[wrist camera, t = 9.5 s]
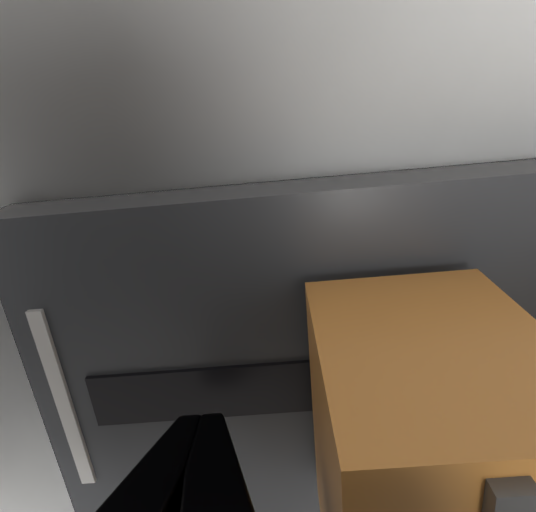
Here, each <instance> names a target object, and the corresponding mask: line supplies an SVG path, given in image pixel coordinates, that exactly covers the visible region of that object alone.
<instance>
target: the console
mask: <svg viewBox="0 0 536 512" xmlns="http://www.w3.org/2000/svg"><path fill="white" fill-rule="evenodd" d="M468 269H478V270H479V271H480V272H482V273H483V274H484V275H485V276H486V277H487V278H489V279H490V280H491V281H492V282H493V283H494V284H495V285H497V286H498V287H499V288H500V289H501V290H502V291H504V292H505V293H506V294H507V295H508V296H509V297H510V298H512V299H513V300H514V301H515V302H516V303H517V304H518V305H520V306H521V307H522V308H523V309H524V310H525V311H527V312H528V313H529V314H530V315H531V316H532V317H533V318H535V319H536V159H525V160H514V161H502V162H491V163H479V164H468V165H456V166H445V167H433V168H422V169H410V170H399V171H387V172H375V173H364V174H352V175H341V176H329V177H318V178H306V179H295V180H283V181H272V182H260V183H249V184H237V185H226V186H214V187H203V188H191V189H180V190H168V191H157V192H145V193H133V194H122V195H110V196H99V197H87V198H76V199H64V200H53V201H41V202H30V203H18V204H10V205H8V206H6V207H3V208H1V209H0V300H1V303H2V306H3V308H4V311H5V314H6V317H7V320H8V323H9V325H10V328H11V331H12V334H13V337H14V340H15V343H16V345H17V348H18V351H19V354H20V357H21V360H22V362H23V365H24V368H25V371H26V374H27V377H28V380H29V382H30V385H31V388H32V391H33V394H34V397H35V399H36V402H37V405H38V408H39V411H40V414H41V417H42V419H43V422H44V425H45V428H46V431H47V434H48V436H49V439H50V442H51V445H52V448H53V451H54V454H55V456H56V459H57V462H58V465H59V468H60V471H61V473H62V476H63V479H64V482H65V485H66V488H67V491H68V493H69V496H70V499H71V502H72V505H73V508H74V510H75V512H95V511H96V510H97V509H98V508H99V507H100V506H101V504H102V503H103V502H104V501H105V500H106V499H107V498H108V496H109V495H110V494H111V493H112V492H113V491H114V490H115V488H116V487H117V486H118V485H119V484H120V483H121V482H122V481H123V479H124V478H125V477H126V476H127V475H128V474H129V473H130V471H131V470H132V469H133V468H134V467H135V466H136V465H137V464H138V462H139V461H140V460H141V459H142V458H143V457H144V456H145V454H146V453H147V452H148V451H149V450H150V449H151V448H152V446H153V445H154V444H155V443H156V442H157V441H158V440H159V439H160V437H161V436H162V435H163V434H164V433H165V432H166V431H167V429H168V428H169V427H170V426H171V425H172V424H173V423H174V421H175V420H176V419H177V418H178V417H180V416H183V415H197V414H198V415H201V416H202V415H203V414H211V413H222V414H223V415H224V418H225V421H226V424H227V427H228V430H229V433H230V436H231V440H232V443H233V446H234V449H235V452H236V455H237V458H238V461H239V464H240V467H241V470H242V473H243V476H244V479H245V482H246V485H247V489H248V492H249V495H250V498H251V501H252V504H253V507H254V510H255V512H320V506H319V498H318V489H317V473H316V457H315V440H314V424H313V408H312V391H311V375H310V359H309V342H308V326H307V310H306V294H305V282H317V281H330V280H342V279H355V278H368V277H380V276H393V275H405V274H418V273H430V272H443V271H456V270H468Z"/></svg>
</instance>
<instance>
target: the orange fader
mask: <svg viewBox="0 0 536 512" xmlns="http://www.w3.org/2000/svg"><path fill="white" fill-rule="evenodd" d="M305 294H306V310H307V326H308V342H309V359H310V375H311V391H312V408H313V424H314V440H315V457H316V473H317V489H318V498H319V506H320V512H536V319H535V318H533V317H532V316H531V315H530V314H529V313H528V312H527V311H525V310H524V309H523V308H522V307H521V306H520V305H518V304H517V303H516V302H515V301H514V300H513V299H512V298H510V297H509V296H508V295H507V294H506V293H505V292H504V291H502V290H501V289H500V288H499V287H498V286H497V285H495V284H494V283H493V282H492V281H491V280H490V279H489V278H487V277H486V276H485V275H484V274H483V273H482V272H480V271H479V270H478V269H468V270H456V271H443V272H430V273H418V274H405V275H393V276H380V277H368V278H355V279H342V280H330V281H317V282H305Z"/></svg>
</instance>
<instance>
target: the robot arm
mask: <svg viewBox="0 0 536 512" xmlns="http://www.w3.org/2000/svg"><path fill="white" fill-rule="evenodd" d="M95 512H255V510H254V507H253V504H252V501H251V498H250V495H249V492H248V489H247V485H246V482H245V479H244V476H243V473H242V470H241V467H240V464H239V461H238V458H237V455H236V452H235V449H234V446H233V443H232V440H231V436H230V433H229V430H228V427H227V424H226V421H225V418H224V415H223V414H222V413H211V414H203V415H202V416H201V415H198V414H197V415H183V416H180V417H178V418H177V419H176V420H175V421H174V423H173V424H172V425H171V426H170V427H169V428H168V429H167V431H166V432H165V433H164V434H163V435H162V436H161V437H160V439H159V440H158V441H157V442H156V443H155V444H154V445H153V446H152V448H151V449H150V450H149V451H148V452H147V453H146V454H145V456H144V457H143V458H142V459H141V460H140V461H139V462H138V464H137V465H136V466H135V467H134V468H133V469H132V470H131V471H130V473H129V474H128V475H127V476H126V477H125V478H124V479H123V481H122V482H121V483H120V484H119V485H118V486H117V487H116V488H115V490H114V491H113V492H112V493H111V494H110V495H109V496H108V498H107V499H106V500H105V501H104V502H103V503H102V504H101V506H100V507H99V508H98V509H97V510H96V511H95Z"/></svg>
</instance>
